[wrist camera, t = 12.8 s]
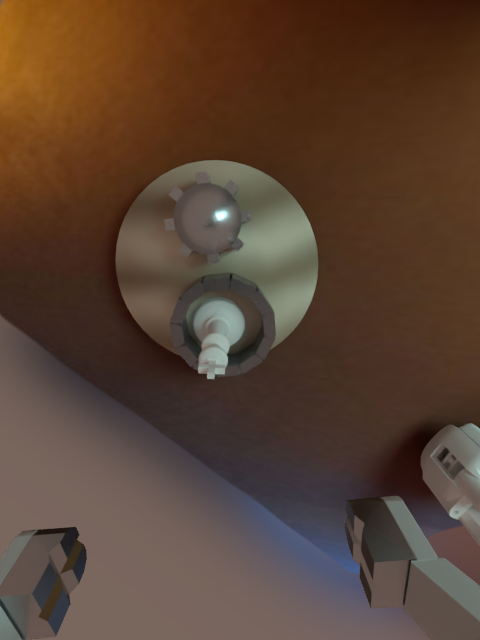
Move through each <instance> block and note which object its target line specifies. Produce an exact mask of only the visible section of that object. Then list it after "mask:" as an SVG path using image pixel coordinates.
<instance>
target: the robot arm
mask: <svg viewBox="0 0 480 640" xmlns="http://www.w3.org/2000/svg"><path fill="white" fill-rule="evenodd" d="M345 510H346V513H347V515H348V517H347V518H346V519H345V531H346V537H347V541H348V545H349V549H350V551H351V554H352V557H353V559H354V560H355V561H356V562H357V563H358V564H359V565H360V580H361V583H362V585H363V588H364V591H365V594H366V597H367V599H368V602H369V604H370V608H388V607H404V609H405V610H406V612H407V613H408V614H409V615H410V616H411V617H412V618H413V620H414V621H415V622H416V623H417V624H418V625H419V626H420V628H421V629H422V630H423V631H424V632H425V633H426V634H427V636H428V637H429V638H430V639H431V640H480V586H479V585H478V584H477V583H475V582H474V581H473V580H472V579H470V578H469V577H468V576H467V575H465V574H464V573H463V572H461V571H460V570H459V569H458V568H456V567H455V566H454V565H452V564H451V563H450V562H449V561H447V560H446V559H445V558H438V557H437V555H436V554H435V552H434V550H433V549H432V547H431V545H430V544H429V542H428V541H427V539H426V537H425V536H424V534H423V532H422V531H421V529H420V528H419V526H418V524H417V523H416V521H415V519H414V518H413V516H412V515H411V513H410V511H409V510H408V508H407V506H406V505H405V503H404V502H403V500H402V499H401V498H400V497H399V496H388V497H373V498H364V499H355V500H347V501H346V503H345ZM78 536H79V533H78V531H77V529H76V527H69V528H55V529H43V530H41V529H40V530H30V531H23V532H21V533H20V534H19V535H18V536H16V537H15V539H14V540H13V542H12V543H11V544H10V546H9V547H8V549H7V550H6V552H5V553H4V554H3V556H2V557H1V559H0V640H30V639H38V638H47V637H55V636H56V635H57V633H58V631H59V628H60V626H61V624H62V622H63V619H64V617H65V615H66V612H67V610H68V608H69V605H70V597H69V594H70V593H71V591H73V589H74V588H75V587H76V586H77V585H78V584H79V582H80V580H81V577H82V575H83V573H84V569H85V564H86V559H87V557H86V549H85V546H84V544H82V543H81V542H79V541H78V540H77V538H78Z"/></svg>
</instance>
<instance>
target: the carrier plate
mask: <svg viewBox="0 0 480 640" xmlns="http://www.w3.org/2000/svg"><path fill="white" fill-rule="evenodd" d="M199 172H207V173H208V175H209V177H210V181H211V183H212V184H216V185H219V186H221V187H223V188H224V187H225V186H226V184H227V183H228V181H229V180H232V181H233V182H234V183H235V184H236V185H237V186H238V187H239V190H238V193H237V194H236V195H235V197H234V198H235V200H236V202H237V203H238V206H239V209H240V211H241V210H250V214H251V221H248V222H241V228H240V232H239V234H238V236H237V237H238V238H240V239H241V240H242V241H243V242H244V245H243V246H242V248H241V249H240V250H239V251H238V252H237V251H236V250H235V249H234V248H232V247H231V246H230V247H229V248H227V249H226V250H224V251H222V252H220V261H219V263H214V264H208V257H207V254H201V253H197V252H195V251H194V253H193V254H192V255H190V256H189V257H188V258H186V257H185V256H184V255H183V254H181V253H180V252H179V250H180V248H181V247H182V246H183V244H184V243H183V242H182V241H181V239H180V238H179V236H178V234H177V232H176V230H168V231H166V228H165V223H164V219H172V218H174V210H175V206H176V203H177V202H176V201H175V200H174V199H173V198H171V197H170V196H169V194H170V192H171V191H172V189H173V188H174V186H176V187H178V188H179V189H181V190H182V191H184V192H185V191H186V190H187V189H188V188H190V187H192V186H194V185H197V180H196V173H199ZM229 272H230V276H231V275H232V273H234V274H237V275H239V276H241V277H243V278H246V279H248V280H250V281H253V282H255V284H257V285H258V287H259V288H260V290H261V291H262V292H263V294H264V295H265V296H266V298H267V299H268V301H269V302H270V304H271V306H272V308H273V310H274V315H275V329H276V337H275V338H276V339H275V341H274V343H273V345H272V347H271V348H270V349H272V348H274V347H275V346H276V345H278V344H279V343H280V342H282V341H283V340H284V339H285V338H286V337H287V336H288V335H289V334H290V333H291V332H292V331H293V330H294V329H295V328H296V326H297V325H298V324H299V323H300V321H301V320H302V318H303V316H304V315H305V313H306V311H307V309H308V307H309V305H310V303H311V301H312V297H313V294H314V291H315V288H316V282H317V276H318V253H317V246H316V241H315V237H314V234H313V231H312V228H311V225H310V223H309V221H308V219H307V217H306V215H305V213H304V211H303V209H302V208H301V207H300V205H299V204H298V202H297V201H296V199H295V198H294V197H293V196H292V195H291V194H290V193H289V192H288V191H287V190H286V189H285V188H284V187H283V186H282V185H281V184H279V183H278V182H277V181H276V180H275V179H273V178H272V177H270V176H268V175H267V174H265V173H263V172H262V171H259V170H257V169H255V168H252V167H250V166H248V165H244V164H240V163H236V162H232V161H222V160H206V161H198V162H193V163H188V164H185V165H182V166H180V167H177V168H174V169H172V170H170V171H169V172H167V173H165V174H163V175H161V176H160V177H158V178H157V179H156V180H154V181H153V182H152V183H150V184H149V185H148V186H147V187H146V188H145V189H144V190H143V191H142V192H141V193H140V194H139V196H138V197H137V198H136V200H135V201H134V202H133V204H132V205H131V207H130V209H129V210H128V212H127V214H126V216H125V218H124V220H123V223H122V226H121V228H120V231H119V236H118V240H117V246H116V273H117V279H118V284H119V287H120V291H121V294H122V297H123V299H124V301H125V303H126V306H127V308H128V310H129V311H130V313H131V314H132V316H133V318H134V319H135V321H136V322H137V323H138V324H139V326H140V327H141V328H142V329H143V330H144V331H145V332H146V333H147V334H148V335H149V336H150V337H151V338H152V339H153V340H155V341H156V342H157V343H158V344H160V345H161V346H163V347H164V348H166V349H168V350H169V351H171V352H173V353H175V354H177V355H179V353H178V352H177V351H176V350H175V348H176V347H174V345H173V340H172V335H171V330H170V325H169V324H170V319H171V316H172V314H173V311H174V309H175V306H176V303H177V301H178V298H179V297H180V296H181V294H182V293H183V292H184V290H186V289H187V288H188V287H190V286H191V285H192V284H194V283H195V282H196V281H198V280H199V279H200V278H201V277H203V276H204V277H205V275H211V274H220V273H229ZM217 297H221V298H226V299H229V300H231V301H233V302H235V303H236V304H237V305H238V306H239V307H240V308H241V310H242V311H243V313H244V316H245V329H244V332H243V334H242V336H241V338H240V339H239V340H238V341H237V342H236V343H235V344H233V345H232V346H230V348H229V351H228V353H227V354H235V353H239V352H241V351H242V350H243V349H245V348H246V347H248V346H249V345H251V344H252V343H254V341H255V339H256V337H257V335H258V333H259V331H260V329H261V327H262V323H261V313H260V311H259V310H258V309H257V307H256V306H255V305H254V303H253V302H252V301H251V299H250V298H248V297H245V296H243V295H241V294H238V293H236V292H234V291H231V290H221V291H212V292H206V293H205V294H203V295H202V296H201V297H199V298H198V299H197V300H195V301H194V302H193V303H191V304H190V307H189V309H188V312H187V314H186V319H187V324H188V330H189V334H190V335H191V337H192V338H193V339H194V340H195V341H196V342H197V344H198V345H199V346H200V347H201V344H202V342H201V341H200V340H199V339H198V337H197V336H196V334H195V332H194V328H193V317H194V314H195V311H196V310H197V308H198V307H199V306H200V305H201V304H202V303H203V302H204V301H206V300H208V299H211V298H217Z"/></svg>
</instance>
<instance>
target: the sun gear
mask: <svg viewBox="0 0 480 640" xmlns="http://www.w3.org/2000/svg"><path fill="white" fill-rule="evenodd" d="M196 180H197V185H194V186H192V187H190V188H188V189H187V190H186V191H185V192H184V191H182V190H181V189H179V188H178V187H176V186H174V188H173V189H172V191H171V192H170V194H169V196H170V197H171V198H173V199H174V200H175V201H176V202H177V203H176V206H175V210H174V218H172V219H164V223H165V228H166V231H168V230H176V232H177V234H178V236H179V238H180V239H181V241H182V242H183V243H184V244H183V246H182V247H181V248H180V250H179V252H180V253H181V254H183V255H184V256H185V257H186V258H188V257H189V256H190V255H192V254H193V253H194V251H195V252H197V253H201V254H207V257H208V264H214V263H219V261H220V252H222V251H224V250H226V249H227V248H229V247H230V246H231V247H232V248H234V249H235V250H236V251H237V252H238V251H239V250H240V249H241V248H242V246H243V245H244V242H243V241H242V240H241V239H240V238H238V237H237V236H238V234H239V232H240V228H241V222H248V221H251V214H250V210H241V211H240V209H239V206H238V203H237V202H236V200H235V198H234V197H235V195H236V194H237V193H238V190H239V187H238V186H237V185H236V184H235V183H234V182H233V181H232V180H229V181H228V183H227V184H226V186H225V187H224V188H223V187H221V186H219V185H216V184H212V183H211V181H210V177H209V175H208V173H207V172H199V173H196Z"/></svg>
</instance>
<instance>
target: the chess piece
mask: <svg viewBox="0 0 480 640" xmlns="http://www.w3.org/2000/svg"><path fill="white" fill-rule="evenodd" d="M193 328H194V332H195V334H196V336H197V337H198V339H199V340H200V341H201V342H202V344H201V348H202V352H201V353H200V355H199V358H198V362H199V366H198V373H203V374H207V379H214V377H215V374H225V368H226V366H227V364H228V357H227V353H228V351H229V348H230V346H232V345H233V344H235V343H236V342H237V341H238V340H239V339H240V338H241V336H242V334H243V332H244V329H245V316H244V313H243V311H242V310H241V308H240V307H239V306H238V305H237V304H236V303H235V302H233V301H231V300H229V299H226V298H221V297H217V298H211V299H208V300H206V301H204V302H203V303H202V304H201V305H200V306H199V307H198V308H197V310H196V311H195V314H194V317H193Z"/></svg>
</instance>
